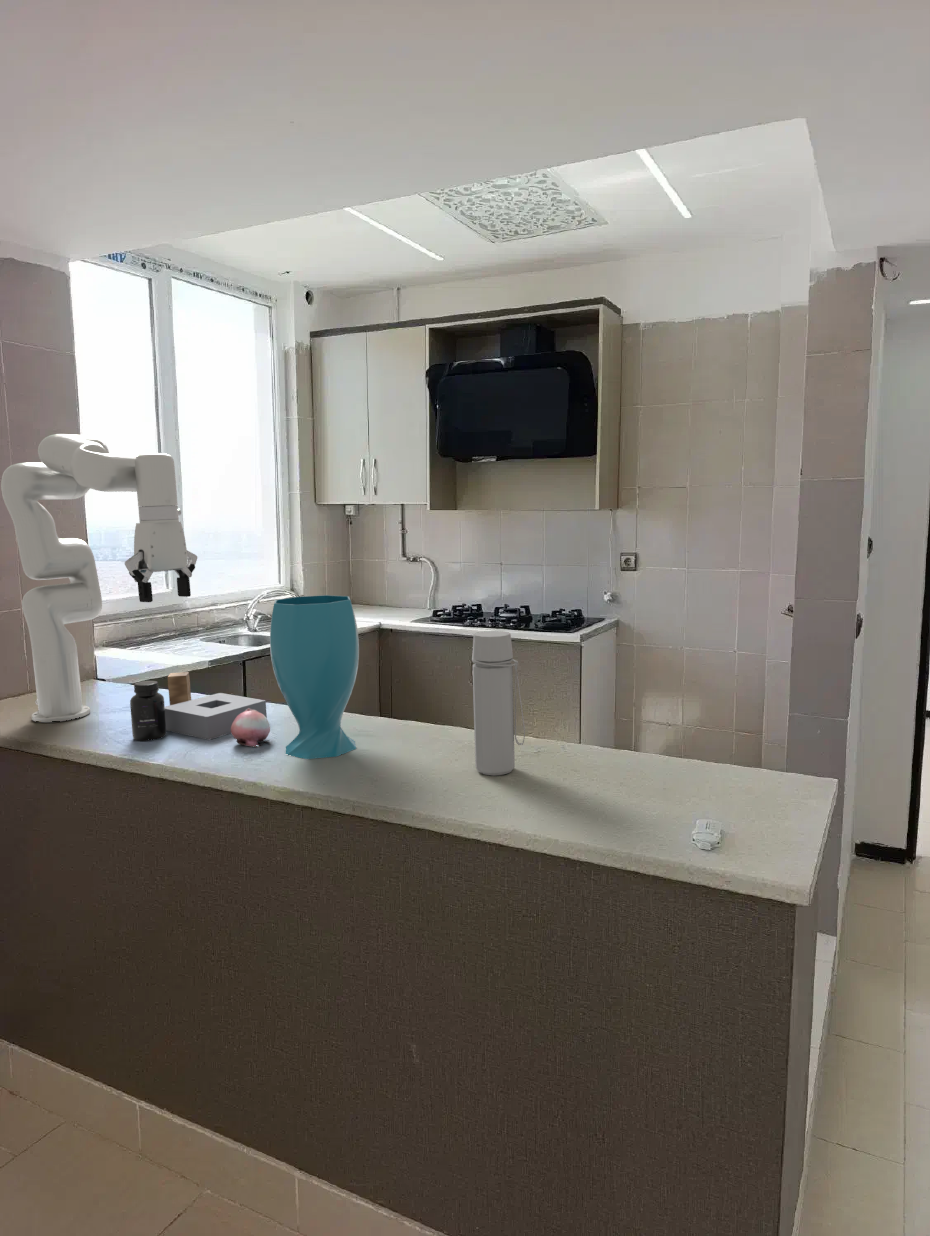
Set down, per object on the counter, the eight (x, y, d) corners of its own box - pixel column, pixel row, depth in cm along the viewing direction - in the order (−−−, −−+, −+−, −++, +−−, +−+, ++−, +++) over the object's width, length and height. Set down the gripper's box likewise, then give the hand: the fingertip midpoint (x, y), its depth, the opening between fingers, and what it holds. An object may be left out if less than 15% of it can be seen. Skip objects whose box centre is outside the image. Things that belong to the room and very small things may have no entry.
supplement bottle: (144, 743, 169) (139, 687, 167) (126, 738, 173) (121, 684, 171) (173, 735, 174) (168, 681, 172) (155, 731, 178) (151, 678, 176)
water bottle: (472, 777, 142) (467, 637, 138) (477, 763, 149) (473, 630, 146) (524, 778, 140) (521, 637, 137) (527, 764, 148) (524, 630, 145)
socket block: (162, 729, 179) (160, 707, 178) (221, 713, 192) (219, 692, 191) (208, 739, 170) (207, 716, 169) (267, 721, 183) (265, 700, 182)
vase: (381, 742, 164) (374, 596, 160) (321, 766, 150) (312, 607, 146) (320, 731, 174) (312, 593, 170) (258, 752, 160) (248, 603, 156)
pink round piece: (258, 740, 172) (267, 708, 172) (271, 752, 166) (281, 719, 165) (222, 735, 167) (231, 702, 167) (234, 747, 161) (244, 713, 161)
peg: (170, 718, 189) (167, 676, 187) (174, 713, 193) (170, 673, 191) (189, 717, 189) (186, 675, 188) (192, 712, 193) (189, 671, 192)
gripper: (179, 514, 173) (186, 593, 175) (109, 517, 158) (117, 603, 160) (204, 514, 169) (210, 594, 171) (135, 516, 154) (142, 604, 156)
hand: (165, 599), depth 166 cm, fingers open, 9 cm apart
